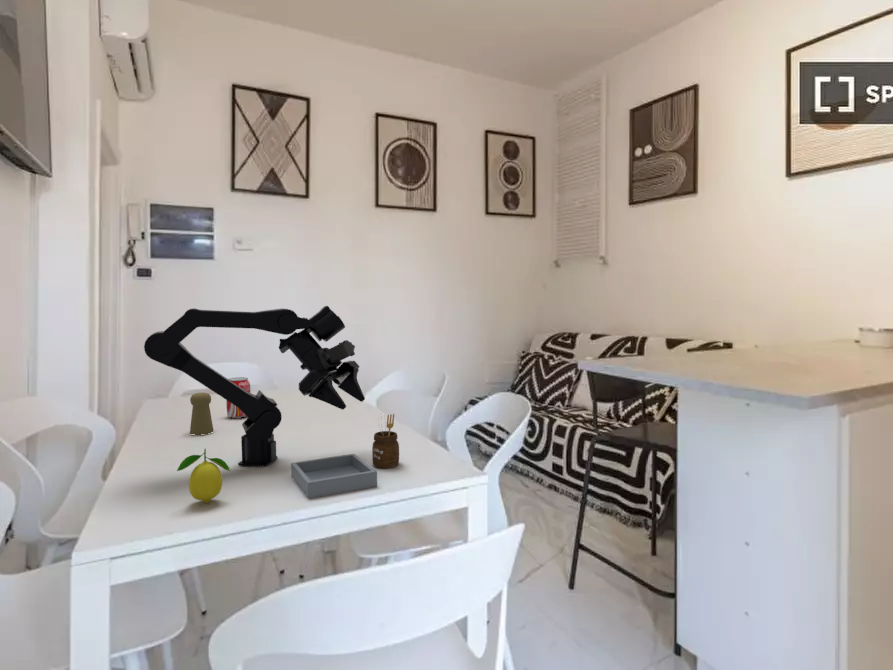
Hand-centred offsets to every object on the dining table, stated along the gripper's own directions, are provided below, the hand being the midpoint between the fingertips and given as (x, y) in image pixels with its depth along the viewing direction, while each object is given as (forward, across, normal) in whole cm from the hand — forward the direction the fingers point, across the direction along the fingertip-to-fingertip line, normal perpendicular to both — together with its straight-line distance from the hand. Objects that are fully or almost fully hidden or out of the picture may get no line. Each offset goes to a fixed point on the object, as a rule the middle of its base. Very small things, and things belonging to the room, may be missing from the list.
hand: (354, 404), depth 120 cm
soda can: (-30, +31, +49) cm, 65 cm away
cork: (-27, +11, +46) cm, 55 cm away
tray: (+11, -13, +8) cm, 19 cm away
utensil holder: (+15, 0, +4) cm, 15 cm away
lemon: (-1, -30, +20) cm, 36 cm away
